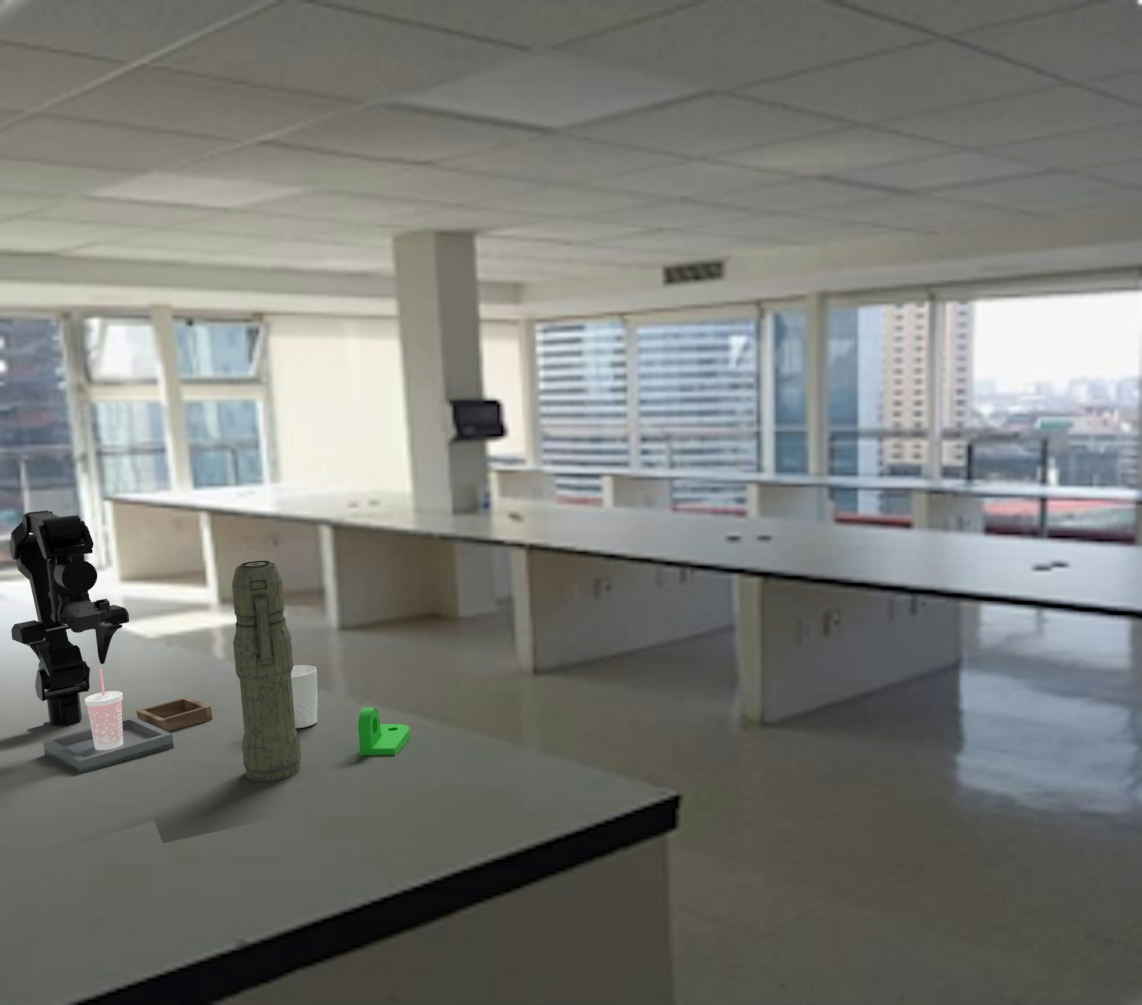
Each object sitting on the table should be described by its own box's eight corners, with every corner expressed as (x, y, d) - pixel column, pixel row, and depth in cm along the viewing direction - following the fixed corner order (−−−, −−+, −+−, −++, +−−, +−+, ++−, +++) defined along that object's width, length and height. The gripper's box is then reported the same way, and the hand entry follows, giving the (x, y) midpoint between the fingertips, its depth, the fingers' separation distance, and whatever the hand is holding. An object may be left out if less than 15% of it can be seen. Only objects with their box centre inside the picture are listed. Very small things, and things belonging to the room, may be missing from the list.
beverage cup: (111, 752, 180) (103, 674, 178) (82, 750, 181) (73, 673, 180) (135, 740, 185) (127, 664, 184) (106, 738, 187) (98, 663, 185)
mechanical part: (395, 759, 173) (392, 713, 172) (360, 759, 174) (357, 713, 173) (414, 734, 185) (411, 691, 184) (381, 734, 186) (378, 691, 185)
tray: (44, 754, 183) (43, 741, 183) (134, 729, 195) (133, 716, 194) (80, 775, 172) (79, 761, 172) (173, 747, 184) (172, 733, 183)
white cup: (309, 730, 189) (304, 677, 188) (269, 729, 191) (264, 676, 190) (327, 716, 197) (323, 665, 196) (289, 715, 198) (285, 664, 197)
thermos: (254, 794, 161) (234, 572, 156) (239, 771, 171) (219, 561, 166) (311, 781, 165) (293, 564, 160) (292, 759, 175) (275, 554, 171)
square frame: (137, 723, 198) (136, 710, 198) (187, 709, 205) (186, 696, 205) (161, 733, 191) (160, 720, 191) (212, 719, 198) (211, 706, 198)
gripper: (28, 600, 175) (39, 690, 177) (137, 581, 189) (146, 664, 190) (5, 593, 183) (15, 679, 185) (112, 574, 196) (120, 655, 198)
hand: (76, 669), depth 189 cm, fingers open, 9 cm apart
